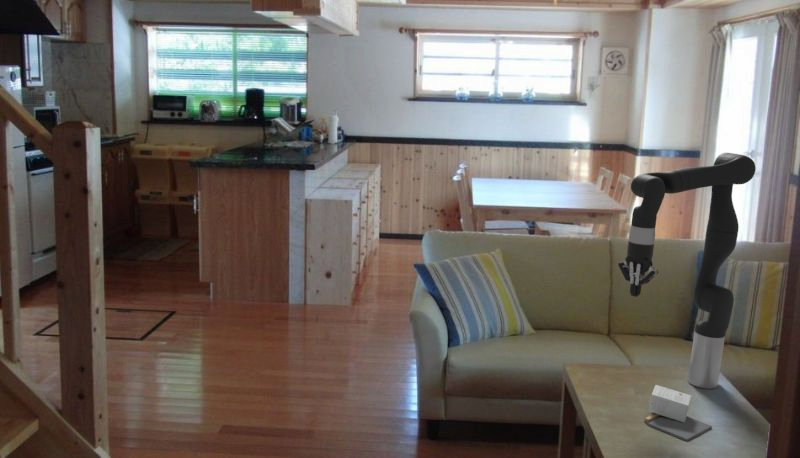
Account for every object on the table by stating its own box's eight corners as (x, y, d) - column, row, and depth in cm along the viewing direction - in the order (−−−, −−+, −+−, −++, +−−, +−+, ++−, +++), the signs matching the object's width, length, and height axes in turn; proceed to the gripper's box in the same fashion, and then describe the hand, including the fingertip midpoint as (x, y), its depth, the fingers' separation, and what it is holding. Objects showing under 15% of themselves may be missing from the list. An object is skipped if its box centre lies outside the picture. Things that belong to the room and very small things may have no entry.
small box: (647, 411, 223) (684, 423, 219) (651, 393, 221) (689, 405, 217) (651, 401, 230) (687, 412, 226) (655, 384, 228) (692, 395, 224)
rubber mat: (672, 412, 227) (673, 410, 226) (711, 427, 218) (711, 426, 218) (647, 424, 217) (647, 422, 217) (686, 441, 209) (687, 439, 209)
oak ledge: (666, 411, 227) (666, 407, 227) (669, 413, 226) (670, 409, 226) (644, 421, 219) (644, 418, 219) (648, 423, 218) (648, 419, 218)
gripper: (667, 244, 229) (660, 299, 233) (629, 235, 239) (622, 289, 242) (654, 246, 224) (647, 303, 228) (615, 237, 234) (609, 292, 237)
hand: (634, 295), depth 235 cm, fingers closed
